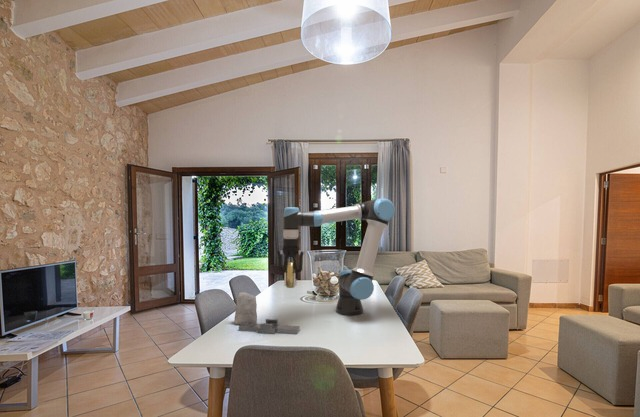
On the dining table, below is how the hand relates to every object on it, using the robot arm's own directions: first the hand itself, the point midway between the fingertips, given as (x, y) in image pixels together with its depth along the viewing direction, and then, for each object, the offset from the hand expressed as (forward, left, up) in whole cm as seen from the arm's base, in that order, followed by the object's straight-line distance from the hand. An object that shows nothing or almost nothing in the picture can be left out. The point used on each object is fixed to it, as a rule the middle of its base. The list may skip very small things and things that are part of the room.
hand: (290, 285), depth 158 cm
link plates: (+7, +10, -19) cm, 23 cm away
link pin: (0, 0, -1) cm, 1 cm away
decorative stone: (+22, +2, -19) cm, 29 cm away
